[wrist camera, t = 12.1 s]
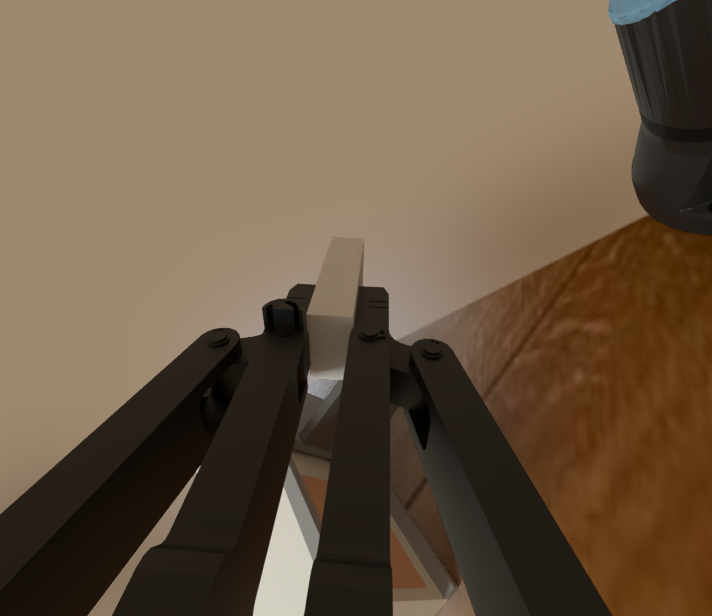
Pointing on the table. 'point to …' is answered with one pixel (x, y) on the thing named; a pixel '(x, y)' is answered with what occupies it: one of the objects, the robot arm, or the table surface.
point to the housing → (301, 538)
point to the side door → (321, 423)
